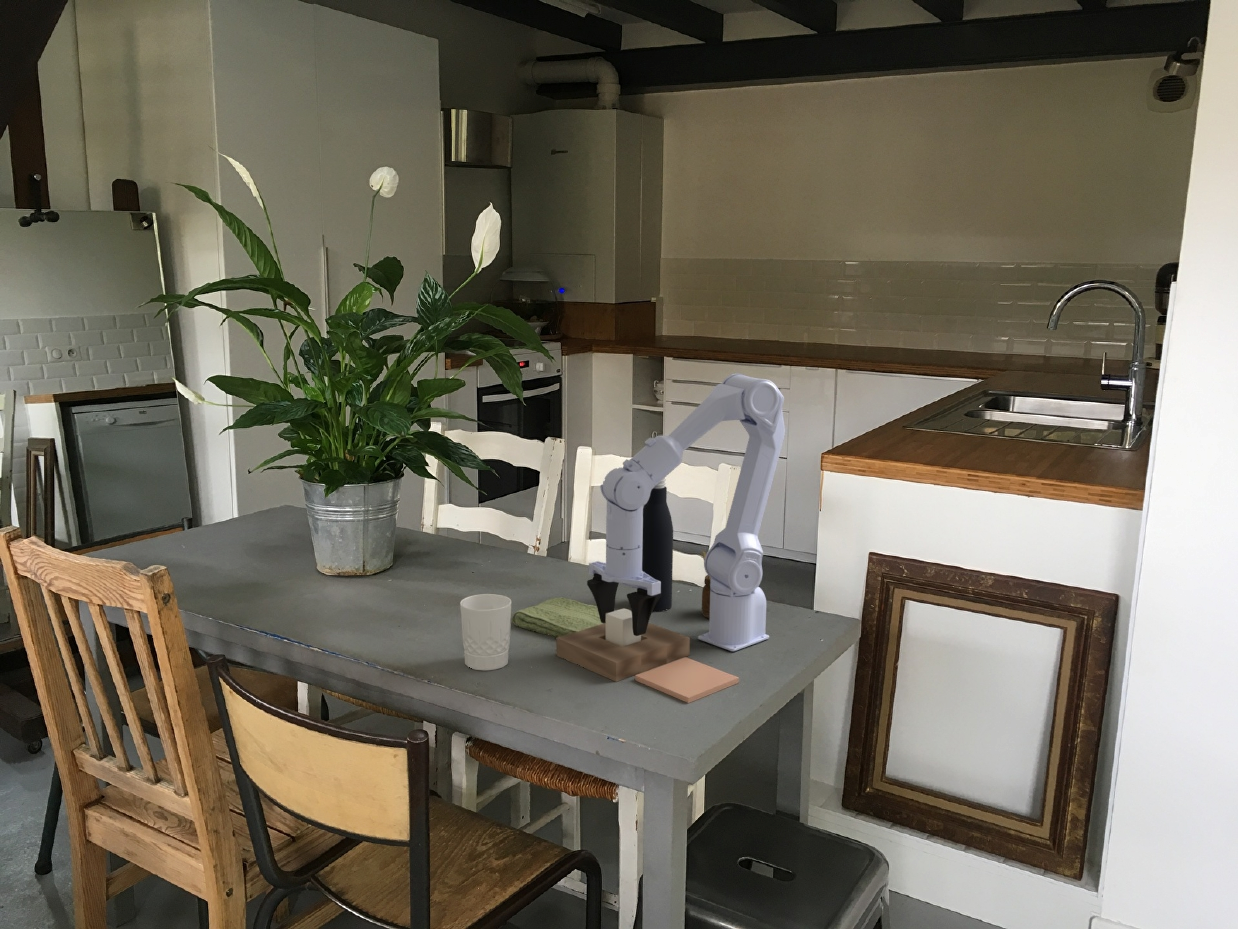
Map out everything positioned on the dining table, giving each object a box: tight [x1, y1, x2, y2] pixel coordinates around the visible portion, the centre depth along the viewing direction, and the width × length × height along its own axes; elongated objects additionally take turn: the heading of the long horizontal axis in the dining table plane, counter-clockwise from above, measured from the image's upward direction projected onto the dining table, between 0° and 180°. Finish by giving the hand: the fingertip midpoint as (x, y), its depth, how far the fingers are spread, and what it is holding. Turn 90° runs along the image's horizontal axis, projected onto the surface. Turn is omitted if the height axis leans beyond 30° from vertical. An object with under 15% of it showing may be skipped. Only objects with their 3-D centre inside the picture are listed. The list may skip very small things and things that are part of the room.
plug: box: [606, 608, 641, 647], centre depth 165 cm, size 4×4×7 cm
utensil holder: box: [701, 551, 711, 619], centre depth 184 cm, size 6×6×12 cm
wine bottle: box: [642, 477, 674, 612], centre depth 187 cm, size 6×6×30 cm
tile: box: [634, 656, 740, 704], centre depth 156 cm, size 11×11×1 cm
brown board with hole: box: [555, 622, 691, 682], centre depth 165 cm, size 16×14×3 cm
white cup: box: [459, 593, 512, 671], centre depth 161 cm, size 8×8×10 cm
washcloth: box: [511, 596, 616, 638], centre depth 179 cm, size 13×18×3 cm
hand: (623, 627), depth 165 cm, fingers open, 7 cm apart
